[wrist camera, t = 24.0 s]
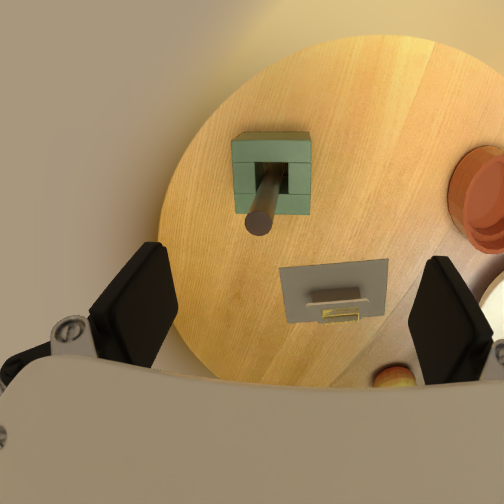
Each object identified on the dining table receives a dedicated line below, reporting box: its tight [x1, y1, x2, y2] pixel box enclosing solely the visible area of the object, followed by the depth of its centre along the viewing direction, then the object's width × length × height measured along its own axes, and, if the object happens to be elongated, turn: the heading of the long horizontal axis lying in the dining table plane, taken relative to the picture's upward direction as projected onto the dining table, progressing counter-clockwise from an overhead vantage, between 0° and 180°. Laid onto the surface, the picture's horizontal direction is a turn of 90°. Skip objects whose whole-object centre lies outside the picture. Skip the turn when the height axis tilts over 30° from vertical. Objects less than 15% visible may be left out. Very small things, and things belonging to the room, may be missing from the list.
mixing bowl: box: [448, 146, 504, 254], centre depth 35 cm, size 16×16×6 cm
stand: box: [231, 132, 311, 215], centre depth 38 cm, size 9×9×8 cm
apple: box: [373, 367, 416, 388], centre depth 56 cm, size 10×10×8 cm
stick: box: [245, 162, 285, 236], centre depth 33 cm, size 2×2×20 cm
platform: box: [279, 259, 389, 325], centre depth 48 cm, size 12×18×7 cm, turn 100°
